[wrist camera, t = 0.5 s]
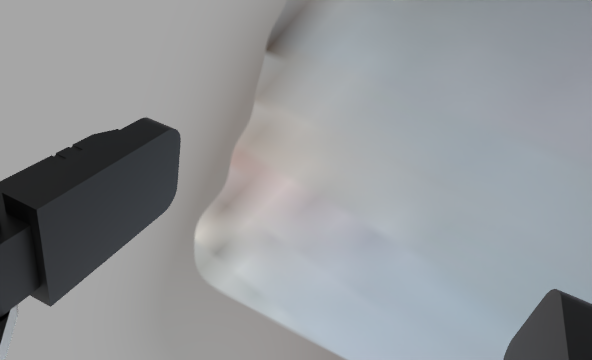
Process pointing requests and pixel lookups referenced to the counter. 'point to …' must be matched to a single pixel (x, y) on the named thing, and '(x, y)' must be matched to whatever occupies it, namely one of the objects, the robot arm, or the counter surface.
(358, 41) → the counter surface
